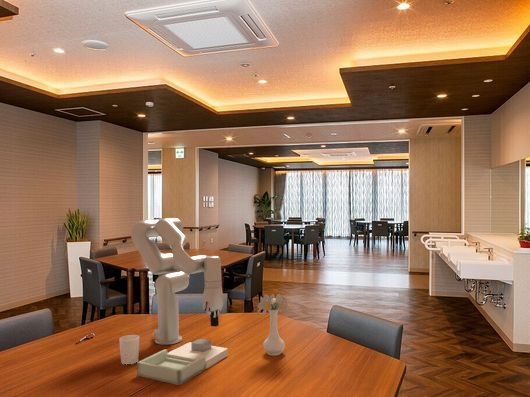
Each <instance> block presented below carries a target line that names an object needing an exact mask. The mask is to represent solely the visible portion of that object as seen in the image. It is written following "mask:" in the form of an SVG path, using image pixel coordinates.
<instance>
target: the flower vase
mask: <svg viewBox="0 0 530 397" xmlns="http://www.w3.org/2000/svg"><path fill="white" fill-rule="evenodd" d="M259 301H260V302H259V303H257V308H258V310H257V315H258V314H259V313H260V312H261V311H262V310H263V311H262V315H265V314H267V313H266V312H267V311H268V313H269V320H270V321H269V334H268V335H267V338H265V340H264V341H263V344H262V346H263V349H264V351H266V354H267V355H268V356H273V357H274V356H280V355H282V352H283V350H284V349H285V347H286V345H285V342H284V341H285V340H283V339H282V338H281V337H280V335H279V331H278V312H284V314H286V315H287V314H288V310H287V309H288V303H287V300H285V299H284V296H282V295H280V293H279V294H277V295H276V297H275V294H274V293H272V294H271V295H270V296H269V295H268V294H267V293H266V294H264V295H263V297H262V296H260V300H259Z"/></svg>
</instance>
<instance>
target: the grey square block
mask: <svg viewBox="0 0 530 397" xmlns="http://www.w3.org/2000/svg"><path fill="white" fill-rule="evenodd" d="M211 346H212V340H210V339H204V338H199V339H196V340H194V341H192V343H191V349H192V350H194V351H200V352H204V351H206V350H208V349H210V348H211Z"/></svg>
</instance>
